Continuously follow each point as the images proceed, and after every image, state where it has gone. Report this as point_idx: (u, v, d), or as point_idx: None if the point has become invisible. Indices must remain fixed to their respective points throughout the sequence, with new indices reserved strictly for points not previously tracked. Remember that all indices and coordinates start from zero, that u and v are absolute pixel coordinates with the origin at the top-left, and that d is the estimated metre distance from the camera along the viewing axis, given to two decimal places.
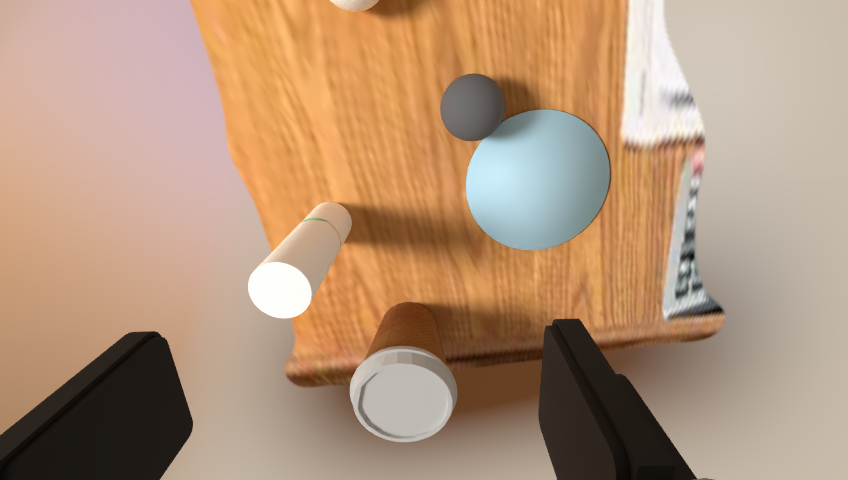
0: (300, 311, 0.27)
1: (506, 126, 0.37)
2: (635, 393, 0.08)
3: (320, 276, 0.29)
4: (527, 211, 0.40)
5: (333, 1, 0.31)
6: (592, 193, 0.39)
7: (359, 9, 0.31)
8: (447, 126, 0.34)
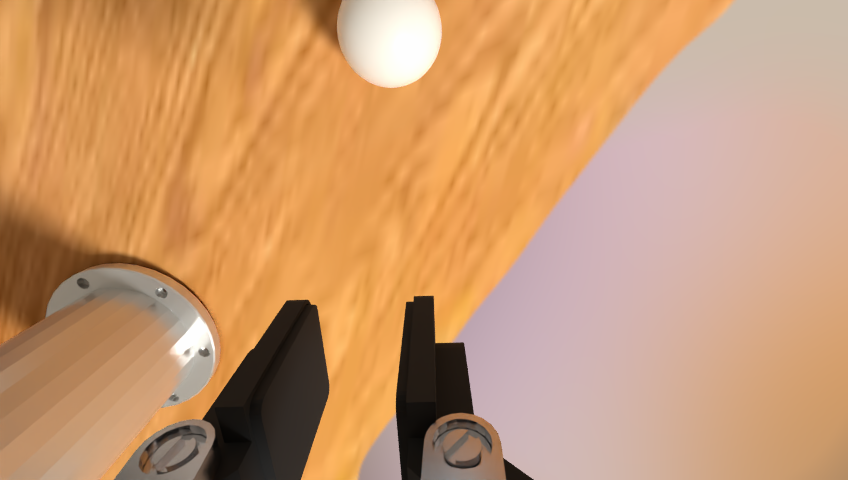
0: None
1: None
2: (465, 357, 0.09)
3: None
4: None
5: (438, 15, 0.20)
6: None
7: None
8: None
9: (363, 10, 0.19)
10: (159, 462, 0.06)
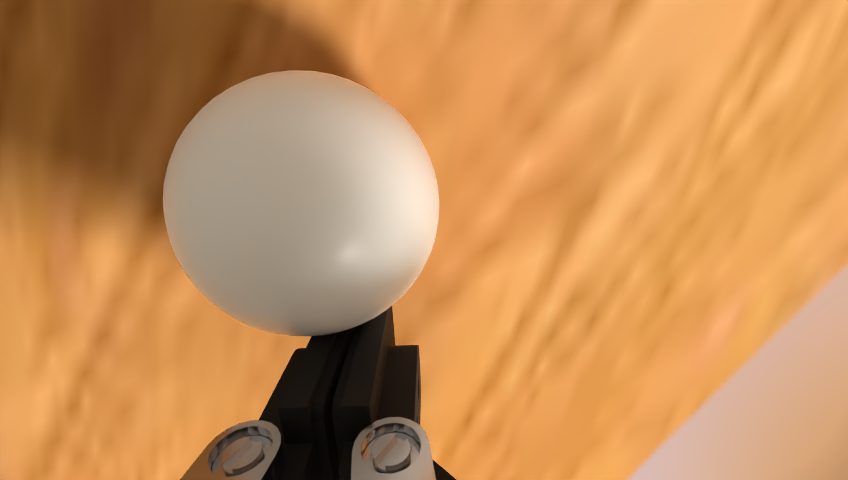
0: None
1: None
2: (417, 360, 0.09)
3: None
4: None
5: (429, 179, 0.08)
6: None
7: (366, 91, 0.07)
8: None
9: (201, 214, 0.06)
10: (227, 464, 0.06)
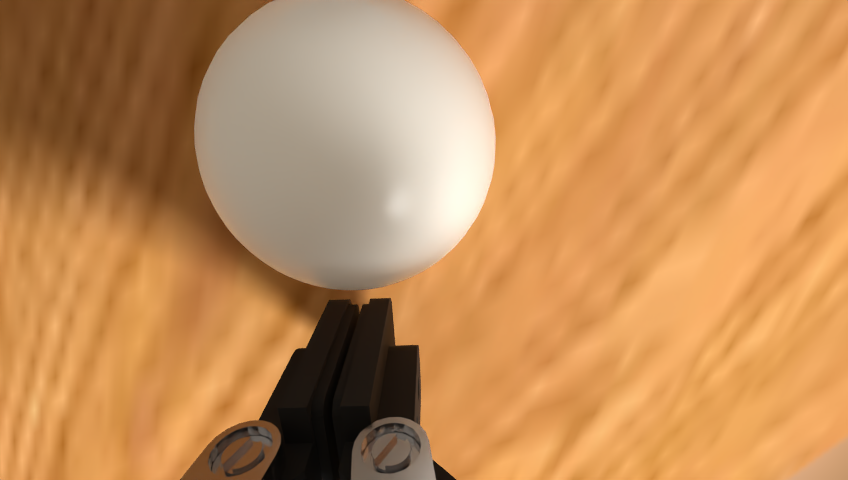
0: None
1: None
2: (417, 360, 0.09)
3: None
4: None
5: None
6: None
7: None
8: None
9: None
10: (227, 464, 0.06)
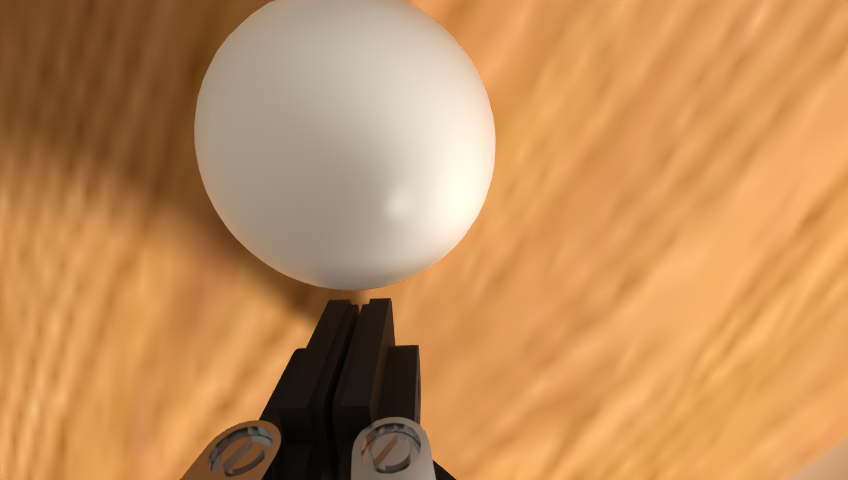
0: None
1: None
2: (417, 360, 0.09)
3: None
4: None
5: None
6: None
7: None
8: None
9: None
10: (227, 464, 0.06)
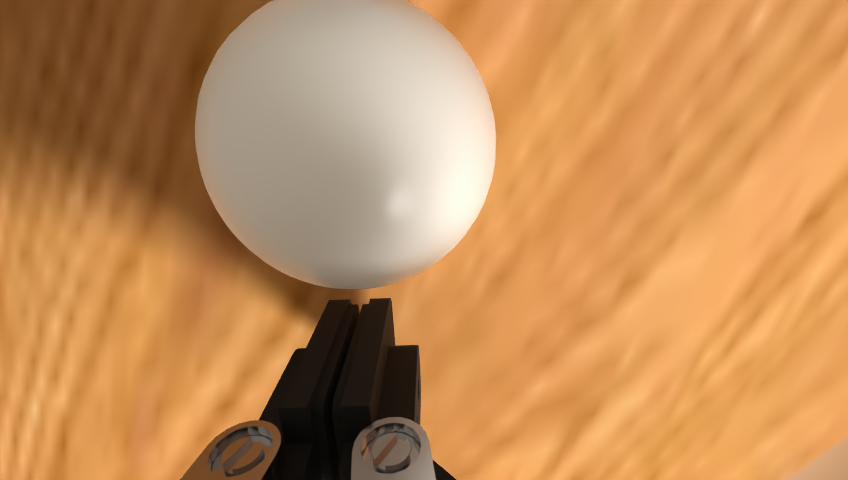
0: None
1: None
2: (417, 360, 0.09)
3: None
4: None
5: None
6: None
7: None
8: None
9: None
10: (227, 464, 0.06)
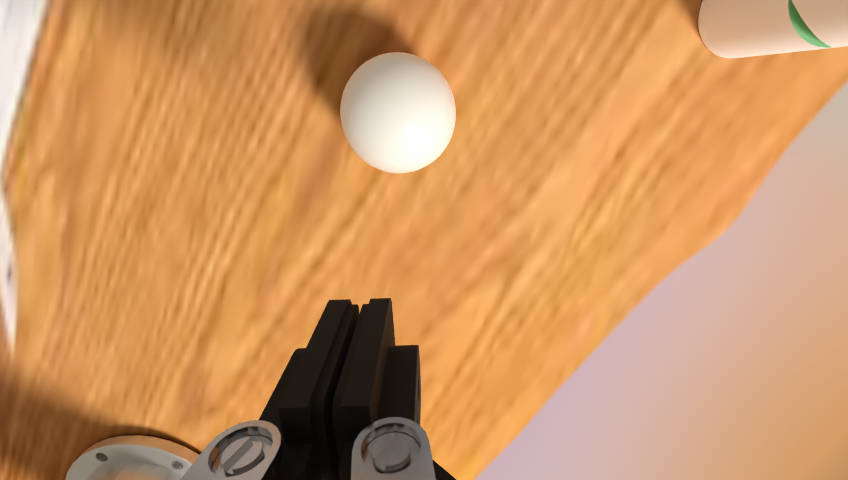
0: None
1: None
2: (417, 360, 0.09)
3: None
4: None
5: None
6: None
7: None
8: None
9: None
10: (227, 463, 0.06)
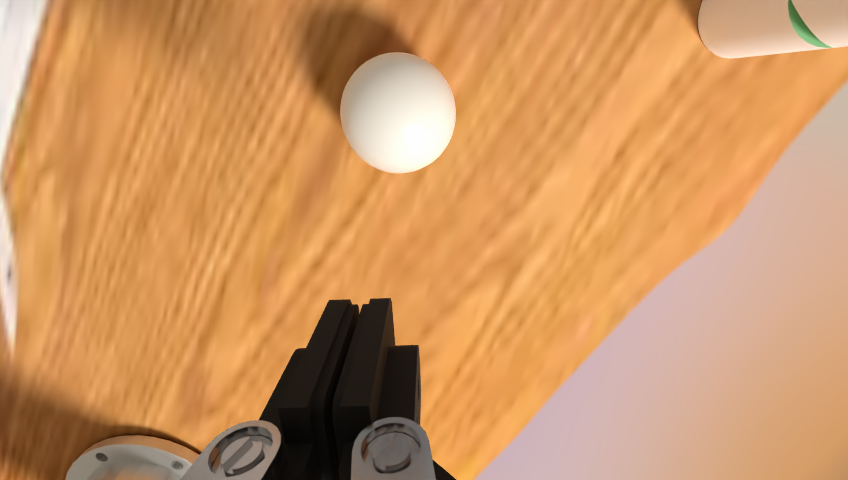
0: None
1: None
2: (417, 360, 0.09)
3: None
4: None
5: None
6: None
7: None
8: None
9: None
10: (227, 463, 0.06)
